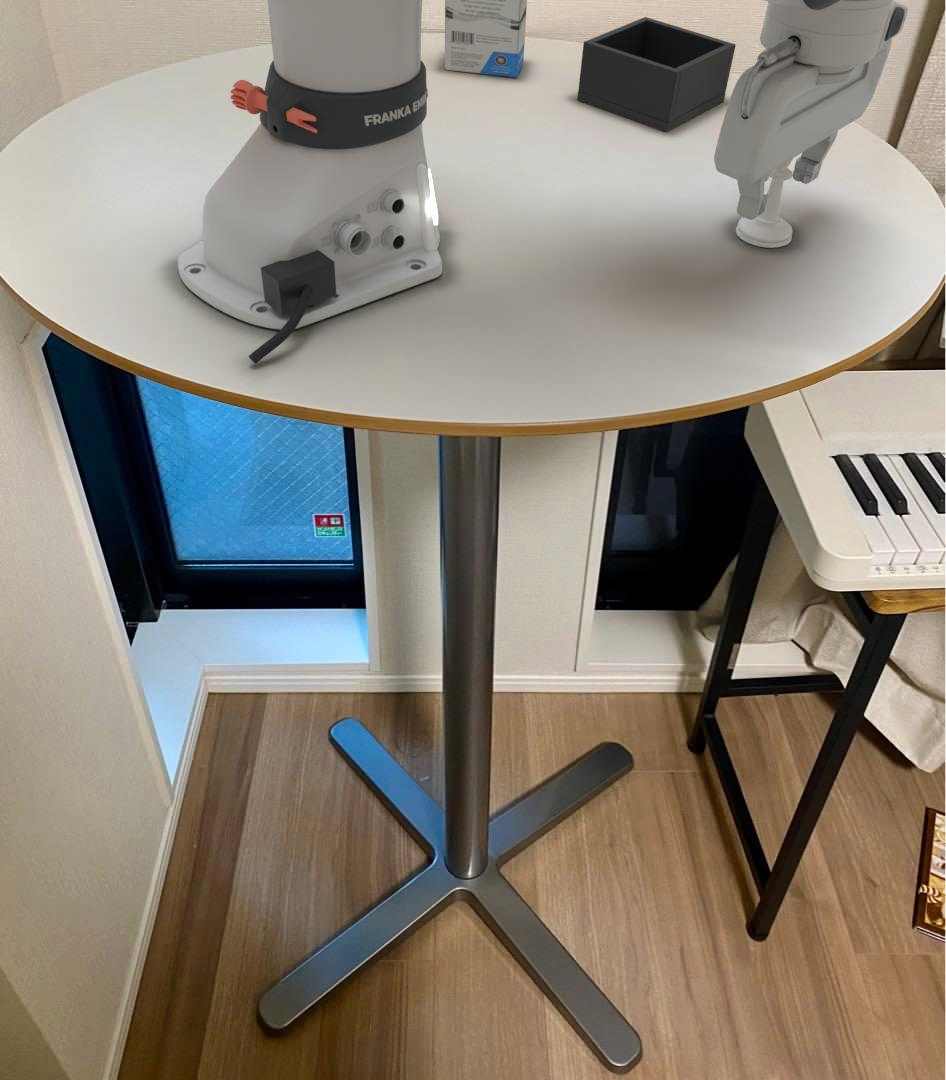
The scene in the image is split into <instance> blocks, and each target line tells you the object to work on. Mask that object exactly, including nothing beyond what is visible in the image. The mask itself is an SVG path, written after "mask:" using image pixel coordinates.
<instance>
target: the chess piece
mask: <svg viewBox="0 0 946 1080" xmlns="http://www.w3.org/2000/svg"><path fill="white" fill-rule="evenodd" d="M793 160H794V158H793V159H791V160H789V161H788V162H786V163H784V164H783V165H781V166H780V167H778V168H776V169H775V170H773V171H771V172H770V175H769V178H771V181H770V184H769V187H768V190H767V191H766V192H767V193H766V195H768V199H767V202H766V205H765V210H764V212H763V213H762V214H760V215H759V216H757V217H756V218H755V219H753V220H750V219H747V218H745V217H741V218H740V219H739V221H737V226H736V227H735V233H736V235H737V237H738V238H739V239H740V240H742V241H743V242H745V243H748V244H750V245H751V246H755V247H759V248H764V249H765V248H766V249H772V248H773V249H777V248H782V247H785V246H787V245H788V244H790V243H791V241H792V239H793V227H792V225H791V224H790V223H788V221H786V220H784V219H783V218H782V216H781V215H780V207H781V201H782V194H783V187H784V181H788V180H791V179H793V171H792V170H791V169H790V168H789V166H790V165H791V163H792V162H793Z"/></svg>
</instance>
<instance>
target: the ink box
mask: <svg viewBox="0 0 946 1080" xmlns="http://www.w3.org/2000/svg"><path fill="white" fill-rule="evenodd" d="M527 4H528V0H444V69H445V70H446V71H453V72H454V71H455V72H464V73H472V74H479V75H480V74H482V75H490V76H498V77H508V78H518V76H519V74H520V72H521V70H522V68H523V65H524V56H525V41H526V27H527V26H526V24H527V9H528V7H527Z"/></svg>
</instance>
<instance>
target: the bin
mask: <svg viewBox="0 0 946 1080" xmlns="http://www.w3.org/2000/svg"><path fill="white" fill-rule="evenodd" d="M735 51H736V43H733V42H730V41H727V40H723V39H719V38H716V37H713V36H709V35H707V34H703V33H700V32H696V31H693V30H689V29H687V28H683V27H680V26H678V25H677V26H676V25H674V24H670V23H666V22H664V21H660V20H657V19H654V18H650V17H647V16H645V17H642V18H639V19H637V20H634V21H632V22H629V23H627V24H624V25H622V26H620V27H617V28H615V29H613V30H609V31H607V32H605V33H602V34H600V35H598V36H595V37H592V38H589V39H587V40H584V41H583V45H582V52H581V53H582V54H581V64H580V73H579V82H578V91H577V99H576V100H577V101H579V102H582V103H585V104H587V105H591V106H593V107H596V108H597V109H601V110H604V111H607V112H610V113H613V114H616V115H617V116H620V117H623V118H625V119H629V120H632V121H635V122H637V123H640V124H643V125H645V126H648V127H651V128H653V129H656V130H660V131H662V132H665V133H668V132H670V131H672V130H674V129H675V128H677V127H679V126H681V125H683V124H685V123H687V122H689V121H690V120H692V119H694V118H696V117H698V116H700V115H701V114H703V113H706V112H708V110H711V109H712V108H714V107H716V106H718V105H720V104H722V103H724V101H725V97H726V92H727V87H728V83H729V79H730V74H731V69H732V64H733V59H734V55H735Z"/></svg>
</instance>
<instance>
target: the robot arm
mask: <svg viewBox="0 0 946 1080" xmlns="http://www.w3.org/2000/svg"><path fill="white" fill-rule="evenodd" d="M763 1H764V2H767V6H766V10H765V14H764V19H763V24H762V26H761V27H762V28H761V31H760V32H761V33H760V36H759V41H760V44H761V45H762V47H763V48H764V50H763V51H761V52H760V53H759V55H757V59H756V62H755V64H754V65H753V66H750V67H749V68H747V69H746V70H744V72H743V73H742V74H741V75H740V76H739V77H738V79H737V81H736V82H735V85H734V87H733V89H732V92H731V94H730V98H729V99H728V104H727V107H726V110H725V113H724V117H723V121H722V124H721V127H720V132H719V135H718V139H717V142H716V147H715V151H714V157H713V162H714V166H715V169H716V171H717V172H718V173H720V174H722V175H725V176H727V177H729V178H732V179H735V180H737V181H736V182H737V186H738V191H739V198H738V203H737V208H736V213H737V214H738V216H739V217H741V218H743V217H745V218H747V219H750V220H753V219H755V218H756V217H757V216H759V215H760V214H762V213H763V212H764V210H765V205H766V202H767V199H768V195H767V193H766V194H765V183H766V182H768V181H769V178H770V177H769V175H770V172H771V171H773V170H775V169H776V168H778V167H780V166H781V165H783V164H784V163H786V162H788V161H789V160H791V159H793V160H794V158H796V157H797V156H799V155H800V156H799V157H798V158H796V161H795V163H794V170H793V171H792V180H794V181H795V182H800V183H802V184H805V185H808V184H809V183H811V182H813V181H814V180H816V179H818V177H819V175H820V171H821V168H822V166H823V161H824V160H825V158H826V156H827V154H828V153H829V152H830V149H831V148H832V146H833V144H834V143H835V141H836V139H837V136H838V132H839V131H840V130H841V129H843V128H845V127H846V126H848V125H850V124H851V123H853V122H854V121H856V120H858V119H859V118H861V117H862V116H863V114H864V113H865V111H866V109H867V108H868V107H869V105H870V103H871V101H872V99H873V97H874V95H875V92H876V89H877V87H878V84H879V82H880V79H881V77H882V74H883V71H884V68H885V66H886V64H887V63H886V62H887V60H888V58H889V54H890V51H891V47H892V43H893V38H895V37H897V36H898V35H899V34H900V33H901V32H902V30H903V28H904V25H905V22H906V18H907V16H908V10H909V7H908V6H907V5H906V4H904V3H901V2H899V1H896V0H763ZM267 7H268V8H267V10H268V17H269V28H270V37H271V47H272V59H273V60H272V61H271V63H270V65H269V69H268V73H267V77H266V82H265V87H264V88H263V87H261V86H260V85H254V84H253V83H251V82H250V81H248V80H246V79H238V80H237V81H236V82H235V83H233V85H232V89H231V90H230V94H232V95H230V100H232V101H231V103H232V105H234V106H235V108H238V109H240V110H242V111H243V110H244V111H247V112H248V113H249V114H251V115H258V114H259V121H260V123H259V125H258V127H257V128H256V129H255V130H254V132H253V133H252V134H251V136H250V137H249V138H248V139H247V141H245V143H244V145H243V147H242V148H241V149H240V150H239V152H238V153H237V154H236V155H235V157H234V158H233V159H232V161H231V162H230V164H229V165H228V166H227V167H226V168H225V170H224V171H223V172H222V174H221V175H220V176H219V178H218V179H216V181H215V183H214V184H212V186H210V189H209V190H208V191H207V193H206V195H205V197H204V201H203V206H202V218H201V219H202V222H201V224H202V225H201V227H202V239H201V240H200V241H198V242H196V243H195V244H194V245H192V246H191V247H189V248H187V249H185V250H184V251H183V252H182V253H180V254H179V255H178V256H177V269H178V275H179V277H180V279H181V281H182V283H183V284H184V285H185V287H187V289H189V290H190V291H191V292H192V293H193V294H194V295H196V296H197V297H198V298H200V299H201V300H202V301H204V302H205V303H207V304H209V305H210V306H211V307H213V308H215V309H217V310H219V311H221V312H222V313H224V314H226V315H228V316H230V317H233V318H234V319H238V320H240V321H243V322H245V323H248V324H250V325H255V326H257V327H262V328H266V329H272V330H278V331H277V332H276V333H275V334H274V335H273V336H272V337H270V338H269V339H268V340H267V341H266V342H264V343H263V344H261V345H260V346H259V347H258V348H256V349H255V350H253V352H251V353H250V354H249V355H248V358H249V359H250V360H251V362H252V363H253V364H254V365H257V364H258V363H259V362H260V361H262V360H263V358H265V357H266V356H267V355H269V354H270V353H271V352H273V351H274V350H275V349H276V348H278V347H279V346H280V345H281V344H283V343H284V342H285V341H286V340H287V339H288V338H289V337H290V336H291V334H292V333H293V332H294V331H295V330H297V329H301V328H304V327H306V326H309V325H311V324H314V323H316V322H317V323H318V322H320V321H323V320H325V319H328V318H330V317H333V316H336V315H338V314H342V313H344V312H347V311H350V310H351V309H355V308H358V307H361V306H363V305H366V304H368V303H371V302H374V301H377V300H380V299H382V298H385V297H387V296H390V295H394V294H397V293H398V292H402V291H404V290H407V289H410V288H412V287H414V286H417V285H421V284H423V283H426V282H428V281H429V282H430V281H432V280H434V279H437V278H439V277H440V276H441V275H442V274H443V263H442V257H441V254H440V251H439V250H438V249H439V246H440V242H441V233H440V229H439V226H438V225H439V213H438V207H437V202H436V196H435V189H434V183H433V178H432V177H433V176H432V173H431V168H429V166H428V161H427V160H428V159H427V154H426V148H425V141H424V132H423V122H424V121H425V119H426V117H427V115H428V102H427V101H428V97H429V90H428V88H427V85H428V84H427V67H426V65H425V63H424V62H423V60H422V57H421V56H422V50H421V49H422V19H423V18H422V16H423V15H422V14H423V13H422V12H423V0H267Z"/></svg>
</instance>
